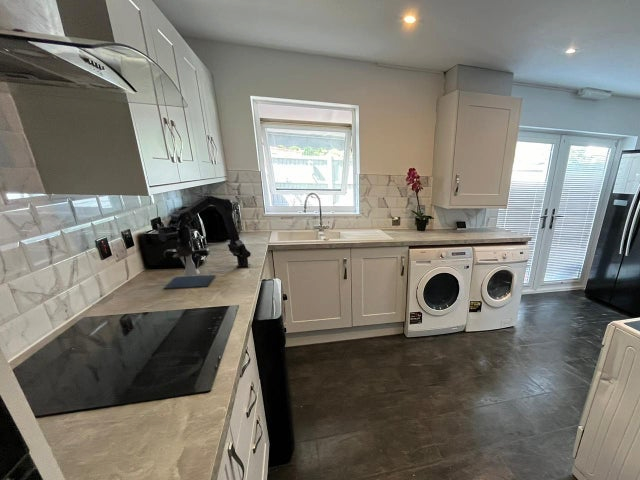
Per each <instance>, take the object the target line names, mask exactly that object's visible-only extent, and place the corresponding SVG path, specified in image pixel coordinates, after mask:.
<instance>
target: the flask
mask: <svg viewBox="0 0 640 480" xmlns="http://www.w3.org/2000/svg"><path fill="white" fill-rule="evenodd" d="M192 256H193V254H190V256H188V257H184V259H185V270H184V269H183V270H184V271H183V276H184V277H185V276H199V275H200V274H201V272H200V270H199V269H196V266H195V261H193V258H192Z"/></svg>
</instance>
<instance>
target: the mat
mask: <svg viewBox="0 0 640 480" xmlns="http://www.w3.org/2000/svg"><path fill="white" fill-rule="evenodd" d="M215 277H216V275H215V274H212V275H211V274H210V275H192V276H185V275H184V276H176V277H174V278H173V279H172V280H171V281H170V282H169V283H168V284H167V285H166V286H165V287H164V290H174V289H175V290H177V289H193V288H194V289H195V288H208V287H209V286H210V285H211V283H212V281H214V278H215Z"/></svg>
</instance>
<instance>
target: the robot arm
mask: <svg viewBox="0 0 640 480" xmlns="http://www.w3.org/2000/svg"><path fill="white" fill-rule="evenodd" d="M233 205H234V204H233V201H232V200H230V199H228V198H221V197H216V196H213V195H209V194H208V195H207V194H206V195H203V196H202V197H201V198H199V199H198V200H197V201H195V202H194V203H192V204H190V205H189V206H187V207H186V208H182V209H179V210H175V211H173V212H172V213H171V214H170V219H169V221H168V224H167V225H166V226H159V228H158V229H159V230H158V232H157V236H158V239H159V241H161V242H162V243H165V242H166V243H167V242H172V241H177V247H176V248H170V249H166V250H165V251H163V256H164V258H172V259H175V260H176V261H178V262H179V264H180V265H181V267H182V268H183V270H185V265H186V261H185V257H188V256H190V254H191V255H195V256H194V257H193V258H194V264H195V266H196V269H198V268H199V264H200V260H201V258H202V257H208V256H210V255H211V250H210V249H209V248H208V247H204V248H201V247H200V248H199V249H198V250H197V249H196V250H195V247H194V244H193V239H192V233H191V230H192V229H195V227H194V226H193V225H191V224H190V223H191V222H192V221H193V220H194V218H195V216H196V215H198V214H199V213H201V212H202V211H204V210H206V209H207V208H208V207H210V206H214V207H215V208H216V210H217V212H218V213H219V214H220V216H221V217H222V219H223V223H224V225H225V228H226V231H227V232H226V233H227V235H228V238H229V243H228V244H227V247H228V251H229V252H230V253H231V254H232V255H233V257H236V261H237V266H236V268H237V269H238V268H239V269H243V268H244V269H245V268H250V265H251V264H250V263H249V258H250V257H251V255H252V253H251V251H249V250H248V249H247V247H246V245H245V243H244V242H243V241H242V240H241V239H240V235H239V233H238V229H237V226H236V223H235V220H234V217H233V212H234V206H233ZM198 270H199V269H198Z"/></svg>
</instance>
